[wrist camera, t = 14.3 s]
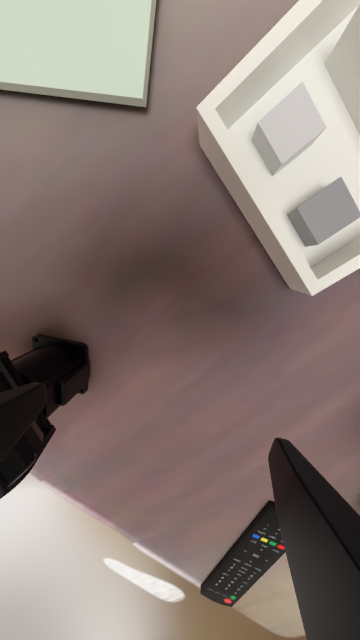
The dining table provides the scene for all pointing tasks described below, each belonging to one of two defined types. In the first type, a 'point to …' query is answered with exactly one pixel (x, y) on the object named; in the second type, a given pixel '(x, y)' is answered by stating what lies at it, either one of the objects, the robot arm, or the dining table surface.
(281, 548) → the remote control
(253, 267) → the dining table surface
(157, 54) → the dining table surface
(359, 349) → the dining table surface
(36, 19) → the lid
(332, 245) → the tub
